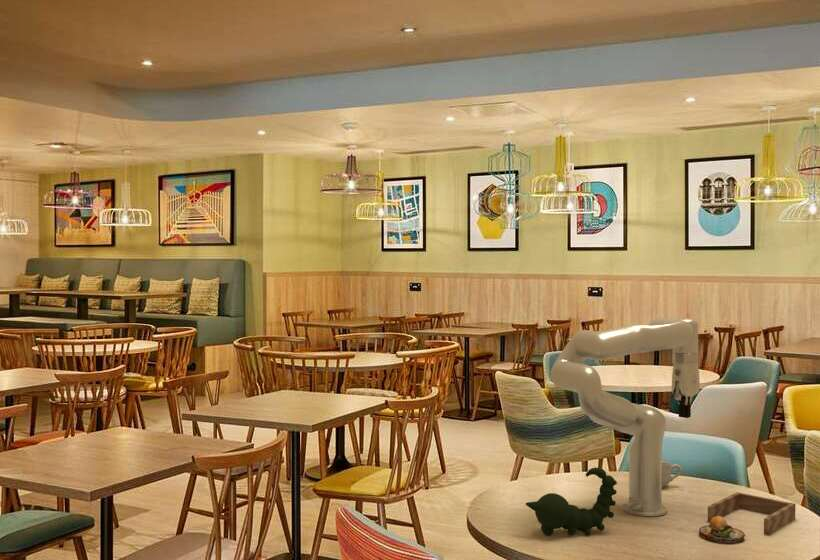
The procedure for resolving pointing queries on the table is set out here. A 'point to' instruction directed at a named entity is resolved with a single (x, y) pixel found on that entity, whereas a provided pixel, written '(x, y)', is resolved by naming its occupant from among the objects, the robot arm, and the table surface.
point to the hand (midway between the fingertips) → (684, 417)
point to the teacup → (669, 472)
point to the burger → (721, 532)
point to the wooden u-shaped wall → (756, 509)
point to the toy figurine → (575, 509)
